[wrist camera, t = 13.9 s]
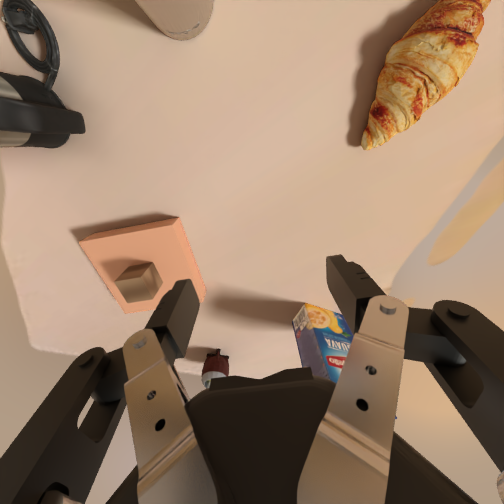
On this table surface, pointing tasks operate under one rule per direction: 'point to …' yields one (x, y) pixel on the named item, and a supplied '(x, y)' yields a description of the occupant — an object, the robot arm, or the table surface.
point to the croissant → (424, 67)
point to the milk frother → (33, 88)
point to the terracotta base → (144, 258)
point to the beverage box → (322, 340)
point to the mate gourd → (214, 368)
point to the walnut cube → (139, 282)
